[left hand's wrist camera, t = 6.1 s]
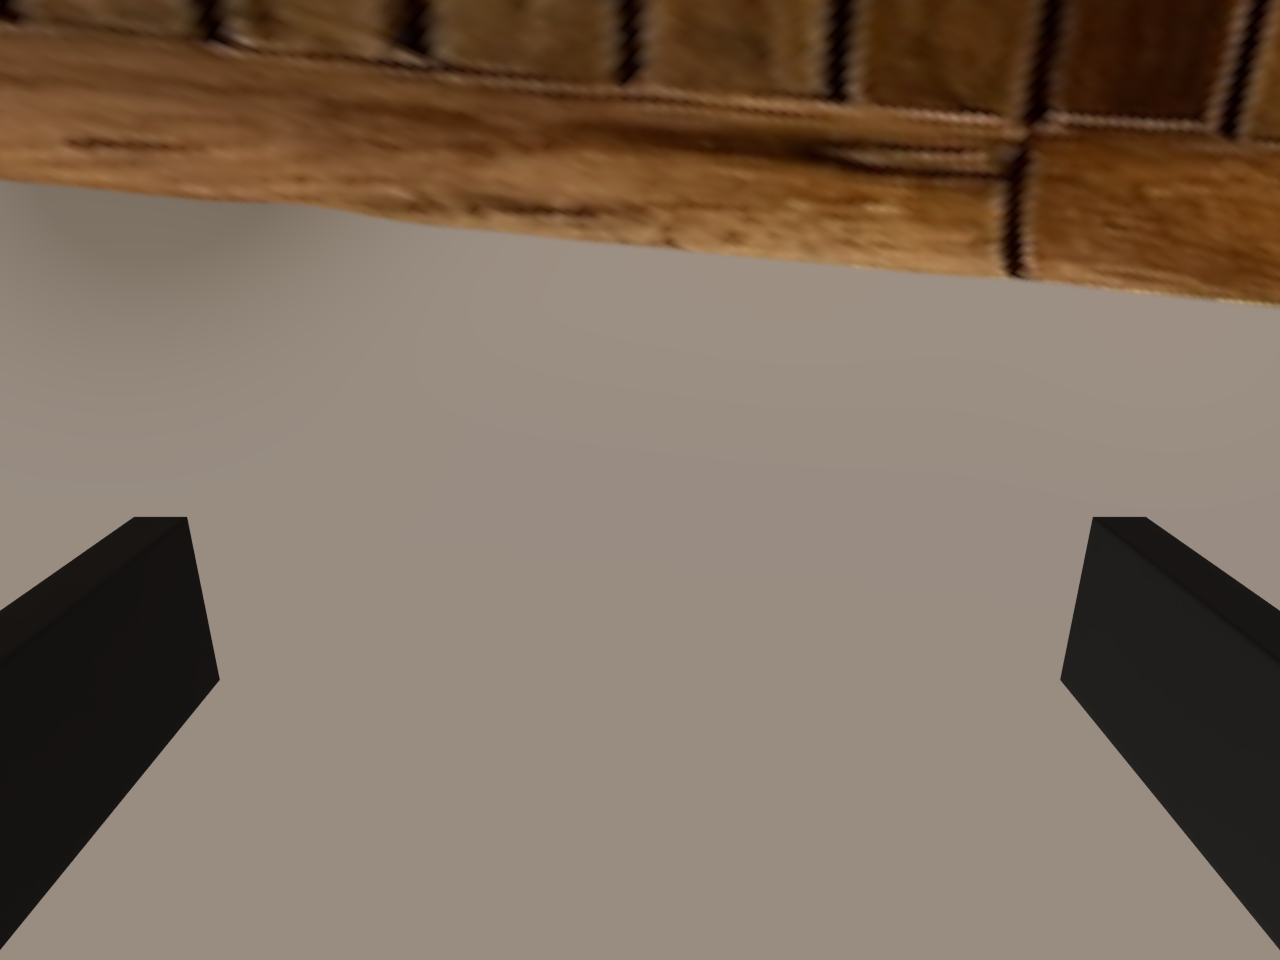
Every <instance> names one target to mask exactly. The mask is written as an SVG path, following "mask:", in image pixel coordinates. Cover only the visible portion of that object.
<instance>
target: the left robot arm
mask: <svg viewBox="0 0 1280 960" xmlns="http://www.w3.org/2000/svg"><path fill="white" fill-rule="evenodd" d="M219 680H220V679H219V674H218V669H217V664H216V659H215V654H214V649H213V644H212V639H211V634H210V629H209V624H208V619H207V614H206V609H205V604H204V599H203V594H202V589H201V584H200V579H199V574H198V569H197V564H196V559H195V554H194V549H193V544H192V539H191V534H190V529H189V524H188V519H187V517H133V518H132V519H131V520H129V521H128V522H126V523H125V524H123V525H122V526H121V527H119V528H118V529H116V530H115V531H113V532H112V533H111V534H109V535H108V536H106V537H105V538H103V539H102V540H101V541H99V542H98V543H96V544H95V545H93V546H92V547H91V548H89V549H88V550H86V551H85V552H83V553H82V554H81V555H79V556H78V557H76V558H75V559H73V560H72V561H71V562H69V563H68V564H66V565H65V566H63V567H62V568H61V569H59V570H58V571H56V572H55V573H53V574H52V575H51V576H49V577H48V578H46V579H45V580H44V581H42V582H41V583H39V584H38V585H36V586H35V587H33V588H32V589H31V590H29V591H28V592H26V593H25V594H24V595H22V596H21V597H19V598H18V599H16V600H15V601H14V602H12V603H11V604H9V605H8V606H6V607H5V608H3V609H2V610H1V611H0V949H1V948H2V947H3V946H4V945H5V943H6V942H7V941H8V940H9V938H10V937H11V936H12V935H13V933H14V932H15V931H16V930H17V929H18V927H19V926H20V925H21V924H22V922H23V921H24V920H25V919H26V918H27V916H28V915H29V914H30V913H31V911H32V910H33V909H34V908H35V906H36V905H37V904H38V903H39V901H40V900H41V899H42V898H43V896H44V895H45V894H46V893H47V892H48V890H49V889H50V888H51V887H52V885H53V884H54V883H55V882H56V881H57V879H58V878H59V877H60V876H61V874H62V873H63V872H64V871H65V870H66V868H67V867H68V866H69V865H70V863H71V862H72V861H73V860H74V858H75V857H76V856H77V855H78V853H79V852H80V851H81V850H82V849H83V847H84V846H85V845H86V844H87V842H88V841H89V840H90V839H91V838H92V836H93V835H94V834H95V833H96V831H97V830H98V829H99V828H100V826H101V825H102V824H103V823H104V822H105V820H106V819H107V818H108V817H109V815H110V814H111V813H112V812H113V810H114V809H115V808H116V807H117V806H118V804H119V803H120V802H121V801H122V799H123V798H124V797H125V796H126V794H127V793H128V792H129V791H130V790H131V788H132V787H133V786H134V785H135V783H136V782H137V781H138V780H139V778H140V777H141V776H142V775H143V774H144V772H145V771H146V770H147V769H148V767H149V766H150V765H151V764H152V763H153V761H154V760H155V759H156V758H157V756H158V755H159V754H160V753H161V751H162V750H163V749H164V748H165V746H166V745H167V744H168V743H169V742H170V740H171V739H172V738H173V737H174V735H175V734H176V733H177V732H178V730H179V729H180V728H181V727H182V726H183V724H184V723H185V722H186V721H187V719H188V718H189V717H190V716H191V715H192V713H193V712H194V711H195V710H196V708H197V707H198V706H199V705H200V703H201V702H202V701H203V700H204V699H205V697H206V696H207V695H208V694H209V692H210V691H211V690H212V689H213V687H214V686H215V685H216V684H217V683H218V681H219ZM1060 680H1061V681H1062V683H1063V684H1064V685H1065V686H1066V687H1067V689H1068V690H1069V691H1070V692H1071V694H1072V695H1073V696H1074V697H1075V699H1076V700H1077V701H1078V702H1079V703H1080V705H1081V706H1082V707H1083V708H1084V710H1085V711H1086V712H1087V713H1088V714H1089V716H1090V717H1091V718H1092V719H1093V721H1094V722H1095V723H1096V724H1097V726H1098V727H1099V728H1100V729H1101V731H1102V732H1103V733H1104V734H1105V735H1106V737H1107V738H1108V739H1109V740H1110V742H1111V743H1112V744H1113V745H1114V747H1115V748H1116V749H1117V750H1118V751H1119V753H1120V754H1121V755H1122V756H1123V758H1124V759H1125V760H1126V761H1127V762H1128V764H1129V765H1130V766H1131V767H1132V769H1133V770H1134V771H1135V772H1136V774H1137V775H1138V776H1139V777H1140V778H1141V780H1142V781H1143V782H1144V783H1145V785H1146V786H1147V787H1148V788H1149V790H1150V791H1151V792H1152V793H1153V794H1154V796H1155V797H1156V798H1157V799H1158V801H1159V802H1160V803H1161V804H1162V806H1163V807H1164V808H1165V809H1166V810H1167V812H1168V813H1169V814H1170V815H1171V817H1172V818H1173V819H1174V820H1175V822H1176V823H1177V824H1178V825H1179V826H1180V828H1181V829H1182V830H1183V831H1184V833H1185V834H1186V835H1187V836H1188V838H1189V839H1190V840H1191V841H1192V842H1193V844H1194V845H1195V846H1196V847H1197V849H1198V850H1199V851H1200V852H1201V854H1202V855H1203V856H1204V857H1205V858H1206V860H1207V861H1208V862H1209V863H1210V865H1211V866H1212V867H1213V868H1214V869H1215V871H1216V872H1217V873H1218V874H1219V876H1220V877H1221V878H1222V879H1223V881H1224V882H1225V883H1226V884H1227V885H1228V887H1229V888H1230V889H1231V890H1232V892H1233V893H1234V894H1235V895H1236V897H1237V898H1238V899H1239V900H1240V902H1241V903H1242V904H1243V905H1244V906H1245V908H1246V909H1247V910H1248V911H1249V913H1250V914H1251V915H1252V916H1253V917H1254V919H1255V920H1256V921H1257V922H1258V924H1259V925H1260V926H1261V927H1262V929H1263V930H1264V931H1265V932H1266V933H1267V935H1268V936H1269V937H1270V938H1271V940H1272V941H1273V942H1274V943H1275V945H1276V946H1277V947H1278V948H1279V949H1280V611H1279V610H1278V609H1277V608H1275V607H1274V606H1272V605H1271V604H1269V603H1268V602H1267V601H1265V600H1264V599H1262V598H1261V597H1259V596H1258V595H1257V594H1255V593H1254V592H1252V591H1251V590H1249V589H1248V588H1246V587H1245V586H1244V585H1242V584H1241V583H1239V582H1238V581H1236V580H1235V579H1234V578H1232V577H1231V576H1229V575H1228V574H1227V573H1225V572H1224V571H1222V570H1221V569H1219V568H1218V567H1217V566H1215V565H1214V564H1212V563H1211V562H1209V561H1208V560H1207V559H1205V558H1204V557H1202V556H1201V555H1199V554H1198V553H1197V552H1195V551H1194V550H1192V549H1191V548H1189V547H1188V546H1187V545H1185V544H1184V543H1182V542H1181V541H1179V540H1178V539H1177V538H1175V537H1174V536H1172V535H1171V534H1169V533H1168V532H1167V531H1165V530H1164V529H1162V528H1161V527H1159V526H1158V525H1157V524H1155V523H1154V522H1152V521H1151V520H1149V519H1148V518H1147V517H1093V520H1092V524H1091V529H1090V534H1089V539H1088V544H1087V549H1086V554H1085V559H1084V564H1083V569H1082V574H1081V579H1080V584H1079V589H1078V594H1077V599H1076V604H1075V609H1074V614H1073V619H1072V624H1071V629H1070V634H1069V639H1068V644H1067V649H1066V654H1065V659H1064V664H1063V669H1062V674H1061V679H1060Z"/></svg>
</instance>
